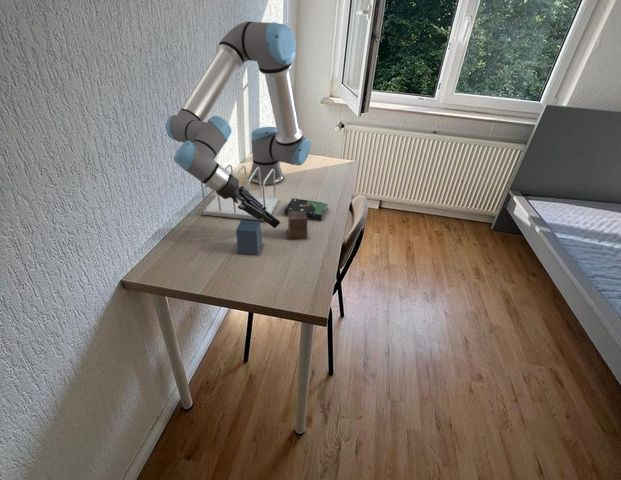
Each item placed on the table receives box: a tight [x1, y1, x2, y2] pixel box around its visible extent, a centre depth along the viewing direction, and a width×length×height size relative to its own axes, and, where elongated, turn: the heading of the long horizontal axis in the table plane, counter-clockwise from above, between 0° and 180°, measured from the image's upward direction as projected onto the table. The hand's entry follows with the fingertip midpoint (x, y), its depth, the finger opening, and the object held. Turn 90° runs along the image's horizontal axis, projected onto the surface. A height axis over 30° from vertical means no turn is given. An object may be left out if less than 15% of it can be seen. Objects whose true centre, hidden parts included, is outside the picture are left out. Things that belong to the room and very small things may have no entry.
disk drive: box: [284, 197, 329, 221], centre depth 136 cm, size 10×3×15 cm
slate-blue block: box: [235, 219, 263, 256], centre depth 112 cm, size 6×6×9 cm
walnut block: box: [287, 211, 308, 241], centre depth 120 cm, size 6×6×8 cm
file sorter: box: [200, 164, 279, 222], centre depth 133 cm, size 25×17×16 cm
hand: (277, 224), depth 120 cm, fingers closed
